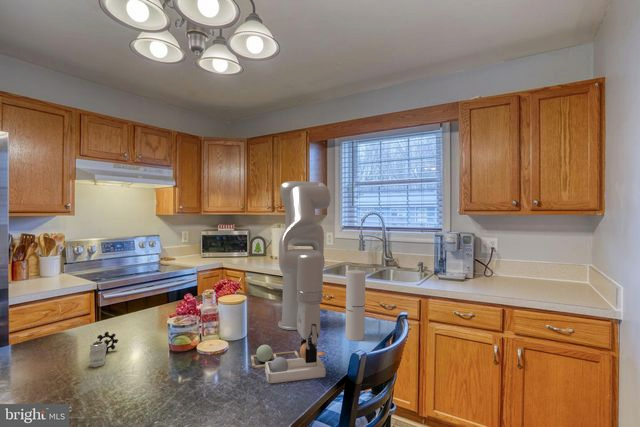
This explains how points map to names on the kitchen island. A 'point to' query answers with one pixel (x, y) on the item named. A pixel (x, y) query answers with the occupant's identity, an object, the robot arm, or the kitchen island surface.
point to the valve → (101, 349)
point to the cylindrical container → (355, 305)
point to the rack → (273, 356)
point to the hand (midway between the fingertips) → (308, 357)
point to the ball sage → (264, 353)
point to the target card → (320, 353)
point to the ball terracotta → (303, 350)
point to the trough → (296, 371)
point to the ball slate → (279, 365)
